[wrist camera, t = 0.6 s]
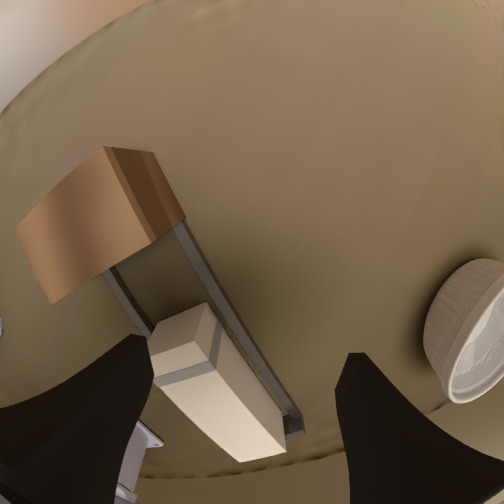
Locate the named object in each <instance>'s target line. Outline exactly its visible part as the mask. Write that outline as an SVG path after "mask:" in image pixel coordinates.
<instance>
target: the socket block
mask: <svg viewBox="0 0 504 504" xmlns="http://www.w3.org/2000/svg"><path fill="white" fill-rule="evenodd" d="M185 217H186V216H185V214H184V212H183V210H182V209H181V207H180V205H179V203H178V201H177V199H176V197H175V195H174V193H173V191H172V189H171V188H170V186H169V184H168V182H167V180H166V178H165V176H164V174H163V172H162V170H161V168H160V166H159V164H158V162H157V160H156V158H155V156H154V154H153V153H151V152H145V151H138V150H130V149H123V148H115V147H106V146H102V147H101V148H100V149H98V150H97V151H96V152H95V153H93V154H92V155H91V156H90V157H88V158H87V159H86V160H85V161H84V162H82V163H81V164H80V165H79V166H78V167H76V168H75V169H74V170H73V171H72V172H71V173H70V174H68V175H67V176H66V177H65V178H64V179H63V180H62V181H61V182H60V183H59V184H58V185H56V186H55V187H54V188H53V189H52V190H51V191H50V192H49V193H48V194H47V195H46V196H45V197H44V198H43V199H42V200H41V201H40V202H39V203H38V204H37V205H36V206H35V207H34V209H33V210H32V211H31V212H30V213H29V214H28V215H27V216H26V217H25V218H24V219H23V221H22V222H21V223H20V224H19V225H18V226H17V227H16V229H15V230H14V231H15V234H16V236H17V238H18V241H19V243H20V245H21V247H22V250H23V252H24V254H25V256H26V258H27V260H28V262H29V264H30V266H31V268H32V270H33V272H34V274H35V276H36V277H37V279H38V281H39V283H40V285H41V287H42V288H43V290H44V292H45V294H46V295H47V297H48V299H49V300H50V302H51V304H54V303H55V302H57V301H58V300H60V299H61V298H63V297H64V296H66V295H67V294H69V293H71V292H72V291H74V290H75V289H77V288H78V287H80V286H81V285H83V284H85V283H86V282H88V281H89V280H91V279H92V278H94V277H96V276H97V275H99V274H101V273H102V272H104V271H105V270H107V269H109V268H110V267H112V266H114V265H115V264H117V263H119V262H120V261H122V260H124V259H125V258H127V257H129V256H130V255H132V254H134V253H136V252H137V251H139V250H141V249H143V248H144V247H146V246H148V245H150V244H151V243H153V242H154V241H155V240H156V239H158V238H159V237H160V236H162V235H163V234H164V233H165V232H167V231H168V230H169V229H171V228H172V227H173V226H175V225H176V224H177V223H179V222H180V221H181V220H183V219H184V218H185Z"/></svg>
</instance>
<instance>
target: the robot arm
mask: <svg viewBox="0 0 504 504" xmlns="http://www.w3.org/2000/svg"><path fill="white" fill-rule="evenodd" d="M154 375H155V374H154V370H153V366H152V362H151V358H150V354H149V349H148V345H147V340H146V336H140V335H135V334H130V335H129V336H127V337H126V338H125V339H123V340H122V341H121V342H119V343H118V344H117V345H115V346H114V347H113V348H111V349H110V350H109V351H107V352H106V353H105V354H103V355H102V356H101V357H99V358H98V359H97V360H95V361H94V362H93V363H91V364H90V365H89V366H87V367H86V368H84V369H83V370H81V371H80V372H78V373H77V374H75V375H74V376H72V377H71V378H69V379H68V380H66V381H64V382H63V383H61V384H59V385H58V386H56V387H54V388H52V389H50V390H48V391H46V392H44V393H42V394H40V395H37V396H35V397H33V398H30V399H28V400H25V401H23V402H20V403H17V404H14V405H11V406H8V407H4V408H0V504H140V503H139V502H137V501H136V498H137V495H136V494H134V493H133V491H134V488H135V484H136V481H137V478H138V474H139V471H140V467H141V464H142V461H143V458H144V454H145V451H146V448H150V447H161V446H163V445H164V443H163V441H161V440H160V439H159V438H158V437H157V436H155V435H154V434H153V433H152V432H151V431H150V430H149V429H147V428H146V427H145V426H144V425H143V424H142V423H141V422H140V421H139V420H138V419H139V417H140V415H141V413H142V410H143V408H144V406H145V403H146V401H147V399H148V396H149V393H150V389H151V386H152V382H153V379H154ZM335 398H336V409H337V416H338V420H339V425H340V429H341V434H342V438H343V443H344V448H345V452H346V456H347V462H348V469H349V481H350V504H483V503H484V502H486V501H487V500H489V499H490V498H492V497H493V496H495V495H496V494H498V493H499V492H500V491H502V490H503V489H504V461H502V460H499V459H496V458H493V457H491V456H488V455H486V454H483V453H481V452H479V451H477V450H475V449H473V448H471V447H469V446H467V445H465V444H463V443H462V442H460V441H458V440H457V439H455V438H453V437H452V436H451V435H449V434H448V433H446V432H445V431H443V430H442V429H440V428H439V427H438V426H437V425H435V424H434V423H433V422H432V421H430V420H429V419H428V418H427V417H425V416H424V415H423V414H422V413H421V412H420V411H419V410H418V409H417V408H416V407H415V406H413V405H412V404H411V403H410V402H409V401H408V400H407V399H406V398H405V397H404V396H403V395H402V394H401V393H400V391H399V390H398V389H397V388H396V387H395V386H394V385H393V384H392V383H391V382H390V381H389V380H388V378H387V377H386V376H385V375H384V374H383V373H382V372H381V371H380V369H379V368H378V367H377V366H376V365H375V364H374V363H373V361H372V360H371V359H370V358H369V357H368V356H367V355H366V354H365V353H349V354H348V357H347V360H346V362H345V365H344V368H343V370H342V373H341V376H340V378H339V381H338V383H337V386H336V388H335ZM499 504H504V501H502V502H501V503H499Z"/></svg>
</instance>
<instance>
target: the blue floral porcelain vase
mask: <svg viewBox="0 0 504 504" xmlns="http://www.w3.org/2000/svg"><path fill="white" fill-rule="evenodd" d="M2 334H3V324H2V319H1V316H0V337H1V335H2Z"/></svg>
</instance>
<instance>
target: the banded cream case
mask: <svg viewBox="0 0 504 504" xmlns="http://www.w3.org/2000/svg"><path fill="white" fill-rule="evenodd" d="M147 345H148V349H149V354H150V358H151V362H152V366H153V370H154V374H155V375H154V379H153V382H154V384H155V385H156V386H157V387H160V388H161V389H162V390H163V391H164V393H165V394H166V395H167V396H168V397H169V398H170V399H171V400H172V401H173V402H174V403H175V404H176V405H177V406H178V407H179V408H180V409H181V410H182V411H183V412H184V413H185V414H186V415H187V416H188V417H189V418H190V419H191V420H192V421H193V422H194V423H195V424H196V425H197V426H198V427H199V428H200V429H201V430H202V431H203V432H204V433H206V434H207V435H208V436H209V437H210V438H211V439H212V440H213V441H214V442H216V443H217V444H218V445H219V446H220V447H221V448H223V449H224V450H225V451H226V452H227V453H229V454H230V455H231V456H232V457H233V458H235V459H236V460H237V461H239V462H245V461H250V460H255V459H259V458H264V457H268V456H272V455H276V454H280V453H283V452H286V444H285V436H284V427H283V418H282V412H281V410H280V409H279V408H278V406H277V405H276V404H275V402H274V401H273V399H272V398H271V397H270V395H269V394H268V393H267V391H266V390H265V388H264V387H263V386H262V384H261V383H260V381H259V380H258V379H257V377H256V376H255V374H254V373H253V372H252V370H251V369H250V367H249V366H248V364H247V363H246V361H245V360H244V358H243V357H242V356H241V354H240V353H239V351H238V350H237V348H236V347H235V345H234V344H233V342H232V341H231V339H230V338H229V336H228V335H227V333H226V331H225V330H224V328H223V326H222V324H221V323H220V321H219V319H218V318H217V317H216V316H215V314H214V313H213V311H212V310H211V308H210V306H209V305H208V303H207V302H204V303H202V304H199V305H197V306H195V307H192V308H190V309H188V310H186V311H183V312H181V313H179V314H176V315H174V316H172V317H169V318H167V319H165V320H162V321H160V322H158V324H157V325H156V327H155V329H154V331H153V333H152V335H151V336H150V338H149V340H148V342H147Z"/></svg>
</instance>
